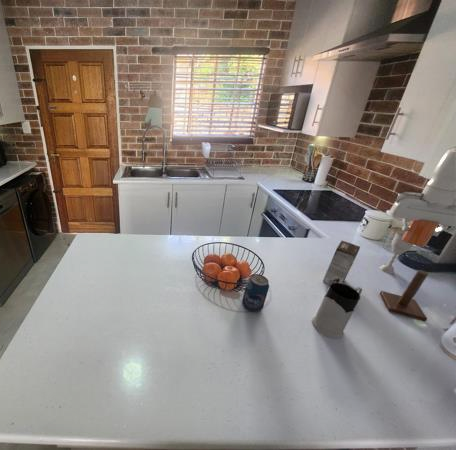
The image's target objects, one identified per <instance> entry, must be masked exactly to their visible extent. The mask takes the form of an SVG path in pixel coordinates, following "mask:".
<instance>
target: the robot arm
mask: <svg viewBox="0 0 456 450" xmlns="http://www.w3.org/2000/svg"><path fill="white" fill-rule="evenodd" d="M389 214H390V215H391V216H392V217H393V218H398V219H401V221H402V224H403V225H402V227H401V231H409V229H410V228H411V227H410V226H409V224H408V223H410V222H411V220H415V221H418V220H425V221H431V222H437V223H439V225H438V226H437V228H436V230H435V231H434V233H433V235H432V236H431V237H438V236H439V235H440V233H442V232H444V231H446V230H448V229H449V227H453V228H456V146H453V147H451V148H449V149H448V150H447V151H446V152H445V153H444V154H443V156H442V157H441V158H440V160H439V161H438V162H437V164H436V166H435V168H434V169H433V172H432V176H431V179H429V180H428V181H427V183H426V184H425V186H424V188H423V190H422V192H411V191H405V192H401V193H399V194H398V195H397V196H396V199H395V202H394V203H393V205H392V206H391V207H390V210H389Z"/></svg>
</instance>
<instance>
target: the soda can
mask: <svg viewBox="0 0 456 450" xmlns="http://www.w3.org/2000/svg"><path fill="white" fill-rule="evenodd" d="M269 289H270V284H269V279H268V278H267V277H265V276H264V275H262V274H258V273H254V274H251V275H250V276H249V278H247V281H246V284H245V287H244V292H243V296H242V300H241V302H242V305H243V307H244V309H245V310H246V311H248V312H250V313H255V314H256V313H259V312H261V311H262V310H263V308H264V305H265V303H266V299H267V295H268V293H269Z"/></svg>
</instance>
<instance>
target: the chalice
mask: <svg viewBox="0 0 456 450" xmlns="http://www.w3.org/2000/svg"><path fill="white" fill-rule="evenodd" d="M404 233H405V231H404V230H399V229H398V230H395V235H394V236H393V239H392V240H391V251H392V253H393V255H392V256H391V259H389V262H388V263H383V265H381V266H379V269H380V270H381V271H382V272H384V273H387V274H391V275H392V274H395V266H393V264H394V263H395V259H397V256H399V255H400V256H401V255H402V254H404V253H406V252H407V251H409V250H410V249H411V248H412V247H413V246H414V245H413V244H410V243H407V242H405V241H403V240H402V237H403V235H404Z"/></svg>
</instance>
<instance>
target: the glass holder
mask: <svg viewBox="0 0 456 450" xmlns="http://www.w3.org/2000/svg"><path fill="white" fill-rule="evenodd" d="M362 292H363V288H361V287H360V286H359V287H356V288H353V287H351V286H350V285H347V284H345V283H343V284H341V283H332V284H331V285H329V287H328V289H327V291H326V294H325V295H324V297H323V298H322V301H321V303H320V305H319V307H318V310H317V312H316V314H315V316H314V317H313V318H312V319H311V324H312V326H313V328H315V330H316V331H317V332H318V333H320V334H322V335H323V336H326V337H328V338H331V339H341V338H342V337H343V336H344V330H345V328H346V327H347V325H348V323H349V321H350V320H351V318H352V315H353V313H354V312H355V308H356V306H357V304H358V303H359V302H360V299H361V295H362Z"/></svg>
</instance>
